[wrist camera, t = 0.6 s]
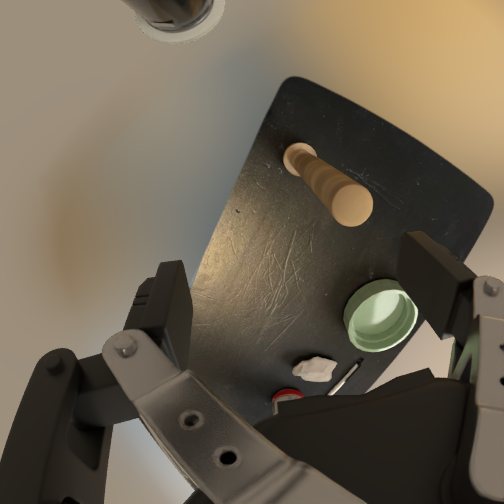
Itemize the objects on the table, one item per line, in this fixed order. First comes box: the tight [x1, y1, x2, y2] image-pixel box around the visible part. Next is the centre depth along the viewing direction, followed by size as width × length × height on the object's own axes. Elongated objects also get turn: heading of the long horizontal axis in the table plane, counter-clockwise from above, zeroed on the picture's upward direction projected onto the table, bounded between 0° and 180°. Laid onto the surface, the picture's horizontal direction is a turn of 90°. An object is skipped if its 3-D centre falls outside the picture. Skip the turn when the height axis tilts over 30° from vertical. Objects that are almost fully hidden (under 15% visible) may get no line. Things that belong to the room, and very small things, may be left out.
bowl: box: [343, 279, 418, 352], centre depth 49 cm, size 12×12×4 cm
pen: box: [327, 359, 364, 395], centre depth 58 cm, size 1×19×1 cm, turn 152°
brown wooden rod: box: [283, 142, 373, 227], centre depth 30 cm, size 4×4×24 cm
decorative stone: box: [292, 356, 337, 382], centre depth 54 cm, size 9×6×3 cm, turn 66°
